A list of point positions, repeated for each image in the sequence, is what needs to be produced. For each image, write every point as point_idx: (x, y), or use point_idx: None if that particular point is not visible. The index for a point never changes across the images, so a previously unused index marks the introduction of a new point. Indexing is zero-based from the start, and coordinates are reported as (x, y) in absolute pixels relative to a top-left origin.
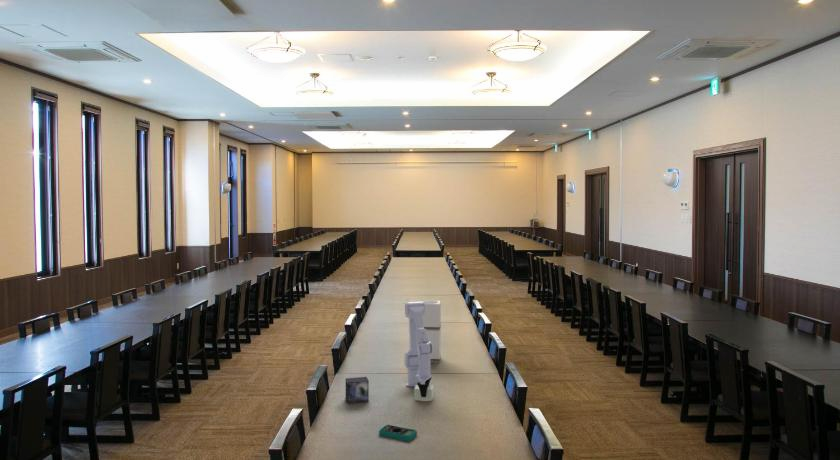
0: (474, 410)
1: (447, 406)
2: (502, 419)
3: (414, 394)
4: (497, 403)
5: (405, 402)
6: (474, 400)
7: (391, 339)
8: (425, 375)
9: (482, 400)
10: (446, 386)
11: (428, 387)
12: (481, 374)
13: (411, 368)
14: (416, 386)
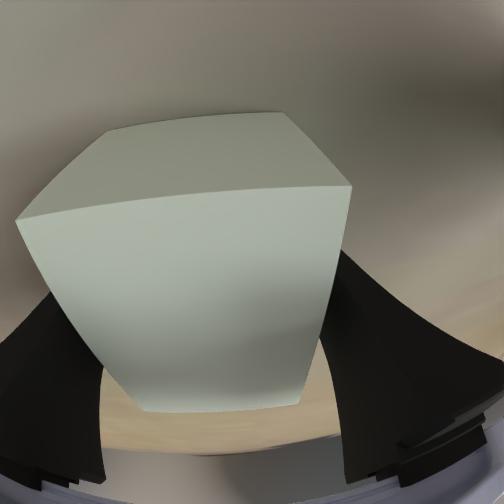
0: (128, 425)
1: (107, 377)
2: (107, 443)
3: (71, 161)
4: (226, 446)
5: (10, 64)
6: (241, 424)
7: None
8: None
9: (247, 432)
10: (465, 311)
11: (207, 391)
12: (499, 354)
13: None
14: (204, 221)
